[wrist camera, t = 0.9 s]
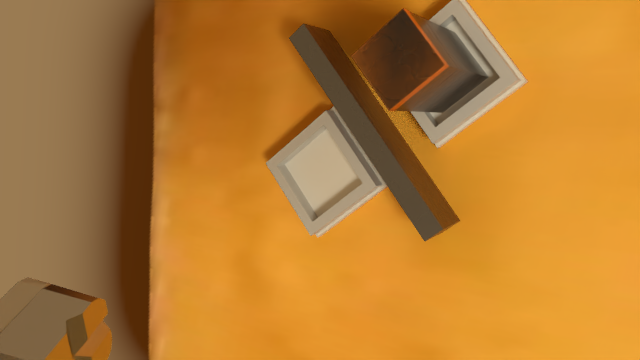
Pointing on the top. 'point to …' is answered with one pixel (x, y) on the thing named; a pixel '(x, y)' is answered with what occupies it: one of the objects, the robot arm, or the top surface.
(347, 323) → the top surface
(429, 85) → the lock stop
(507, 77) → the grey square frame
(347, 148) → the socket
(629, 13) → the top surface
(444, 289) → the top surface
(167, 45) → the top surface
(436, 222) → the door edge rail
